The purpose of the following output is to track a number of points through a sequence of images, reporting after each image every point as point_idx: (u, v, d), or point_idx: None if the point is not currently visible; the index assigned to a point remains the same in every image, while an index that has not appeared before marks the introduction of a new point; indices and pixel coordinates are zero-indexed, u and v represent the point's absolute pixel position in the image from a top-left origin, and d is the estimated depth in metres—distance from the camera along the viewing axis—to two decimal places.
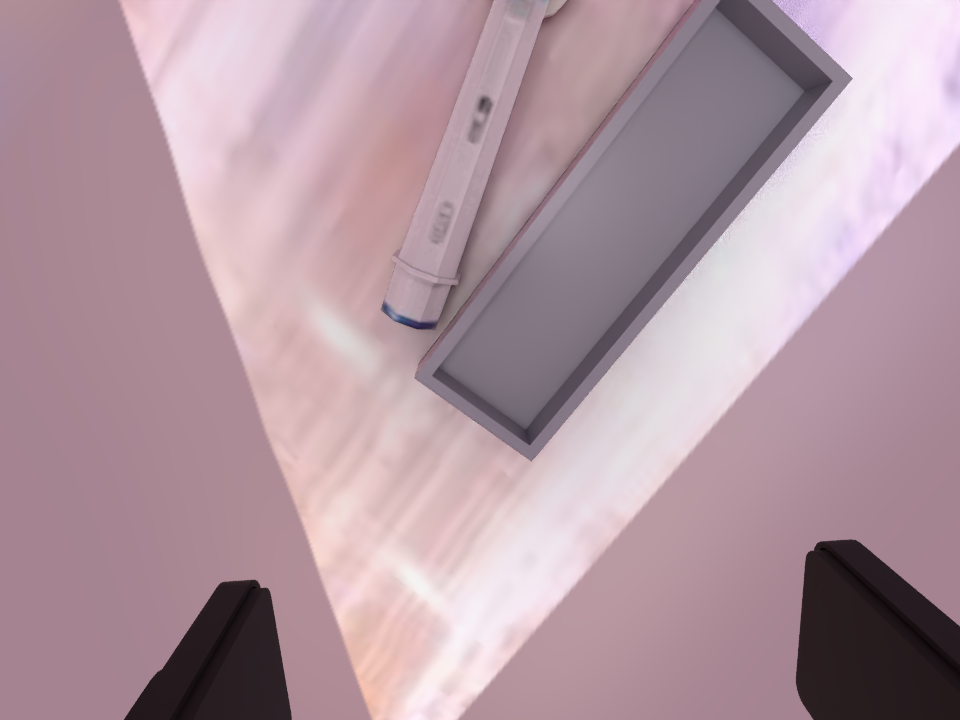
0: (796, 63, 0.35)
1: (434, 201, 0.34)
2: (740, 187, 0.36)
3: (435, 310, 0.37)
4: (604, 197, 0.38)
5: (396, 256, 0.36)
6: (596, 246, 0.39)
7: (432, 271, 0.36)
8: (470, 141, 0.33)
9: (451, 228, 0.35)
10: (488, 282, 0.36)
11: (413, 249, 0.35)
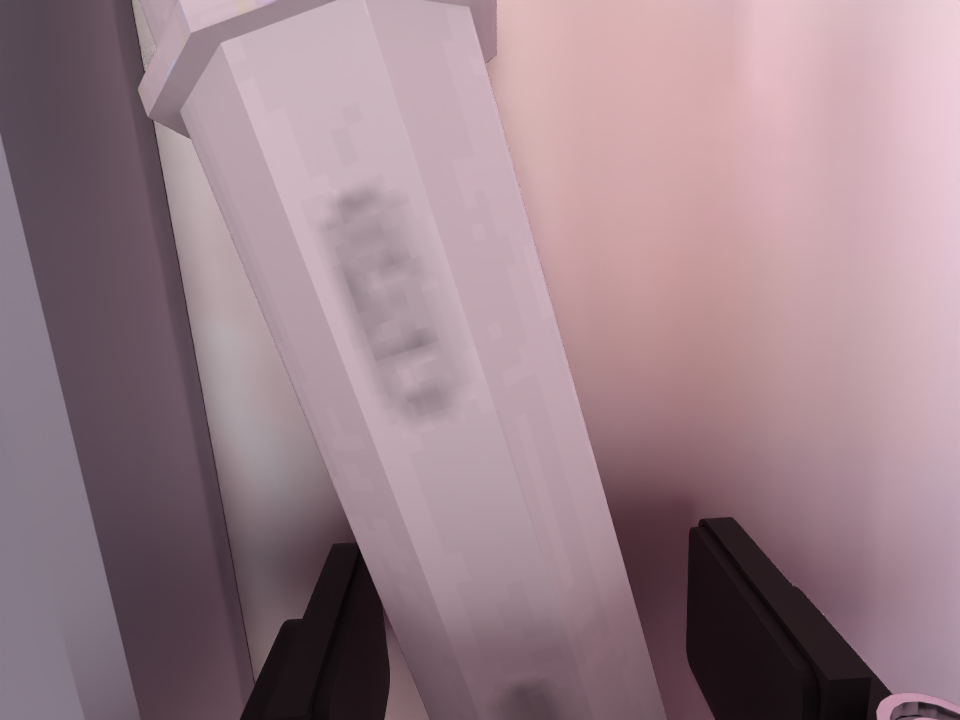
0: None
1: (493, 368, 0.07)
2: None
3: None
4: None
5: None
6: None
7: (256, 49, 0.06)
8: (527, 689, 0.07)
9: (338, 317, 0.06)
10: (26, 258, 0.07)
11: (423, 85, 0.06)
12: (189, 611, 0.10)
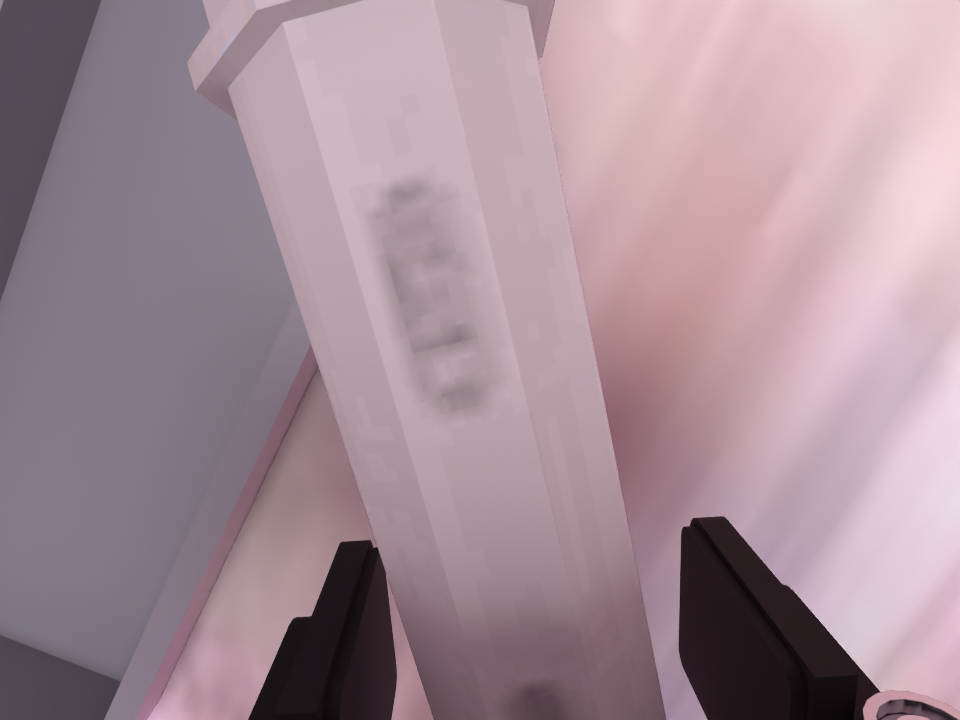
0: None
1: (529, 368, 0.07)
2: None
3: None
4: (209, 348, 0.17)
5: None
6: (192, 240, 0.17)
7: (317, 32, 0.06)
8: (538, 689, 0.07)
9: (378, 307, 0.06)
10: None
11: (480, 80, 0.06)
12: None
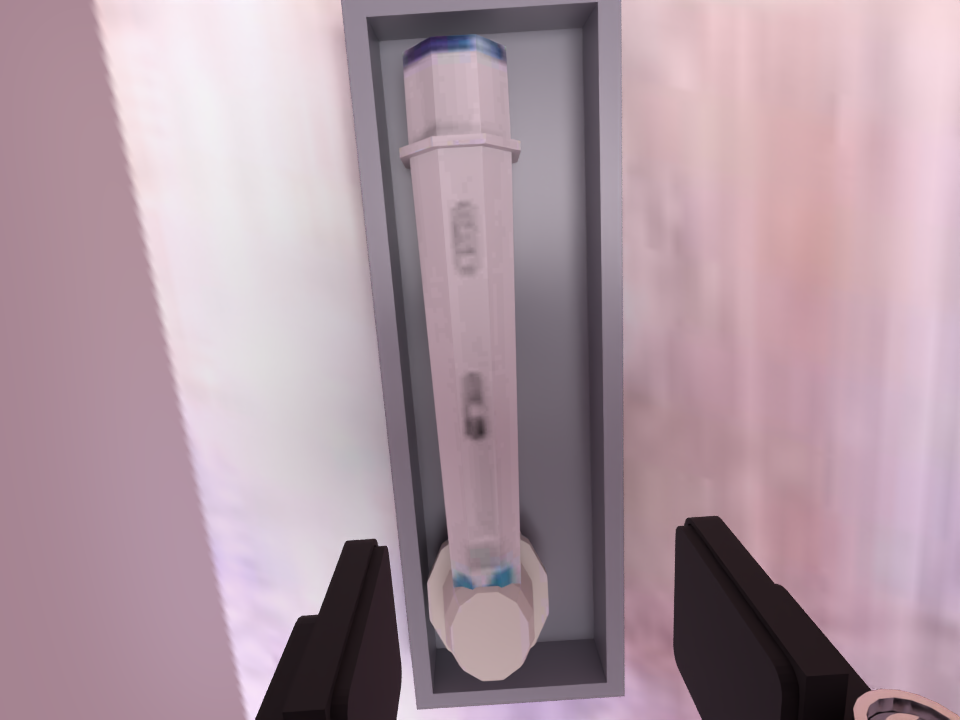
0: None
1: (490, 265, 0.21)
2: (419, 544, 0.26)
3: (415, 87, 0.21)
4: (541, 407, 0.27)
5: (514, 151, 0.21)
6: None
7: (447, 153, 0.20)
8: (474, 374, 0.21)
9: (448, 237, 0.21)
10: (619, 206, 0.22)
11: (491, 175, 0.21)
12: None
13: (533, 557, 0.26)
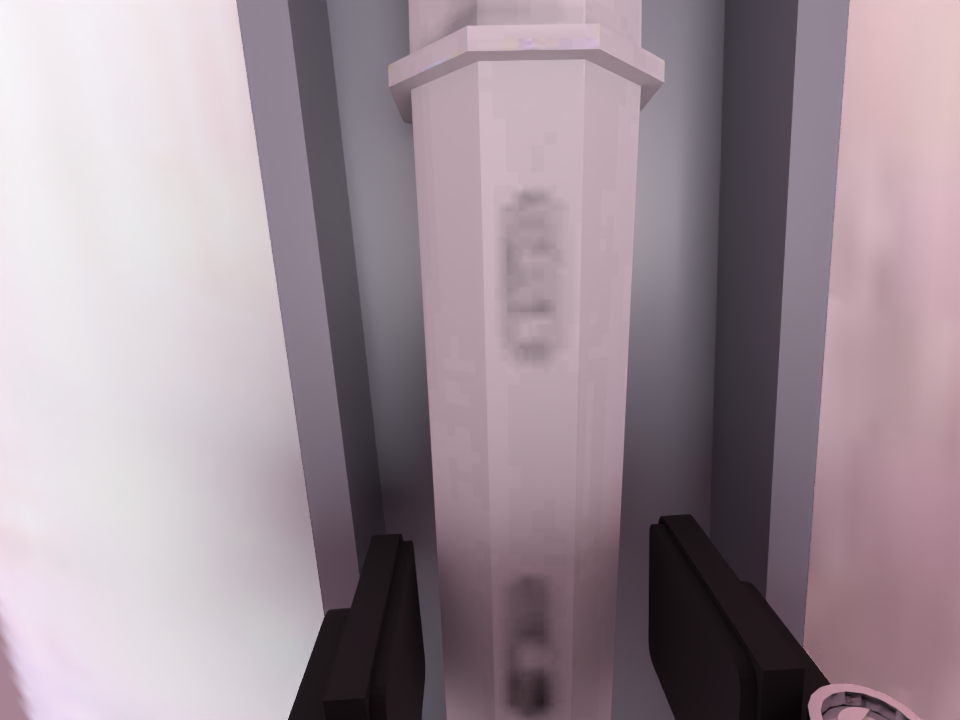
0: None
1: (585, 342, 0.09)
2: None
3: None
4: (622, 580, 0.15)
5: (649, 83, 0.09)
6: None
7: (500, 73, 0.08)
8: (533, 580, 0.10)
9: (492, 273, 0.09)
10: (827, 221, 0.10)
11: (601, 133, 0.09)
12: None
13: None
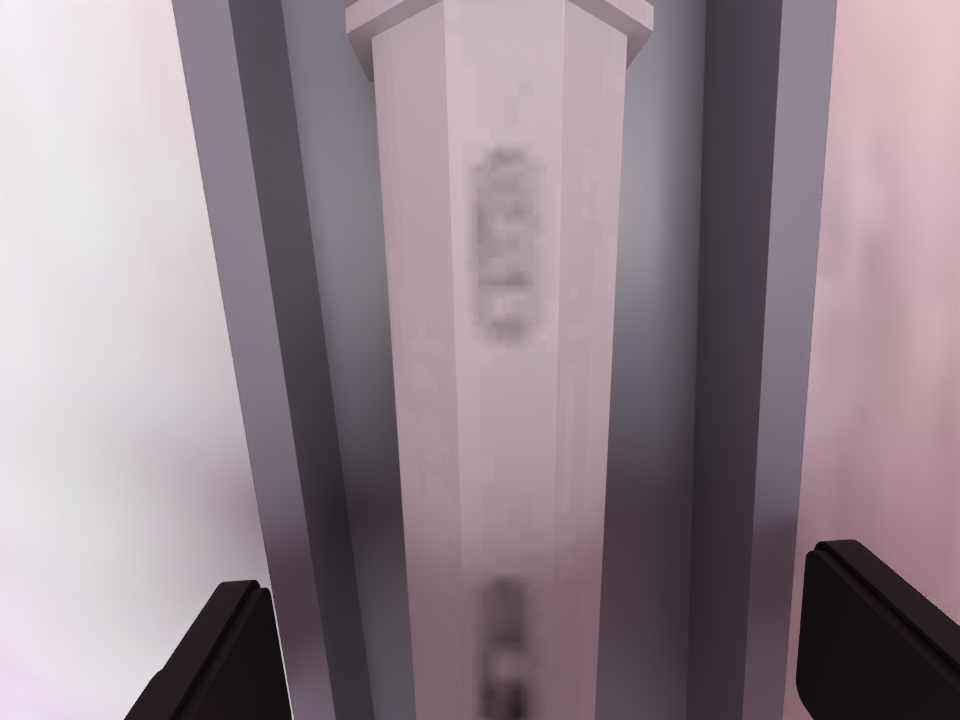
0: None
1: (565, 319, 0.08)
2: None
3: None
4: None
5: (637, 32, 0.08)
6: None
7: (469, 14, 0.07)
8: (509, 582, 0.09)
9: (461, 242, 0.08)
10: (816, 190, 0.09)
11: (583, 84, 0.08)
12: None
13: None
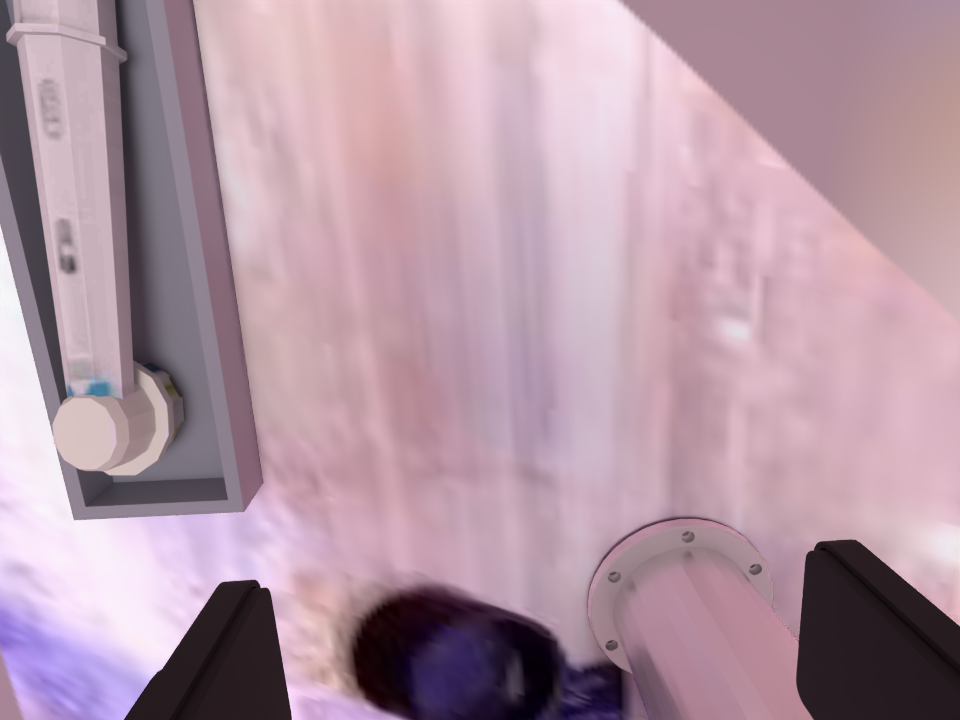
0: (132, 494, 0.35)
1: (74, 133, 0.27)
2: (62, 380, 0.32)
3: None
4: (174, 277, 0.33)
5: (101, 45, 0.27)
6: (136, 228, 0.32)
7: (32, 39, 0.26)
8: (64, 220, 0.27)
9: (36, 107, 0.26)
10: (178, 101, 0.28)
11: (74, 61, 0.26)
12: (213, 230, 0.31)
13: (155, 388, 0.32)
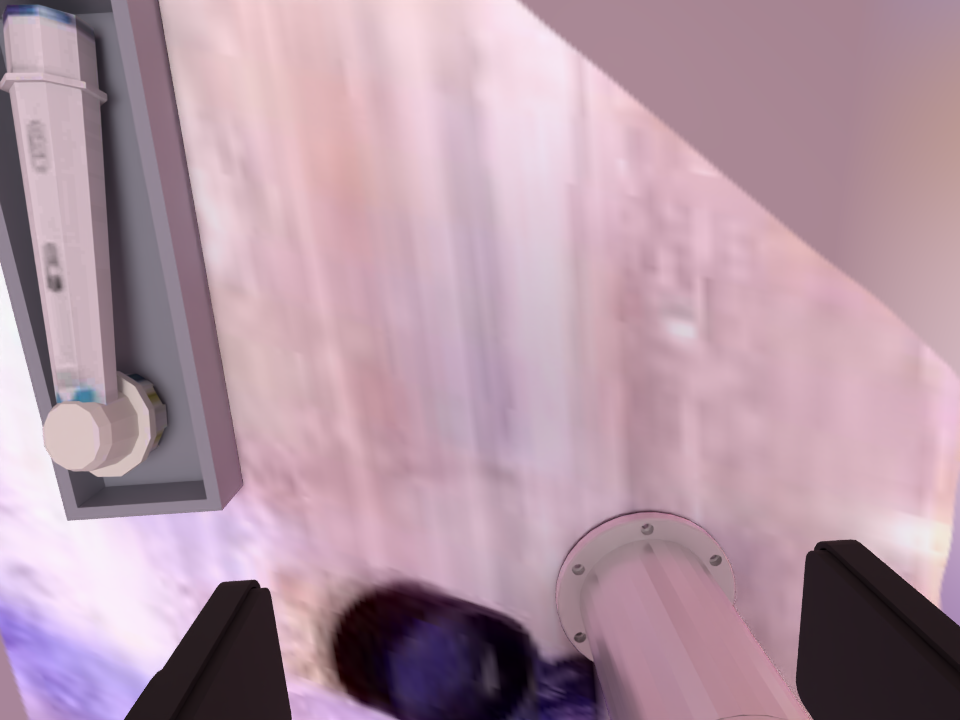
0: (121, 496, 0.38)
1: (58, 167, 0.30)
2: (54, 391, 0.35)
3: (6, 40, 0.30)
4: (156, 294, 0.36)
5: (82, 88, 0.30)
6: (120, 251, 0.35)
7: (21, 86, 0.29)
8: (51, 244, 0.31)
9: (26, 145, 0.30)
10: (151, 136, 0.31)
11: (57, 103, 0.30)
12: (188, 250, 0.34)
13: (137, 395, 0.35)
